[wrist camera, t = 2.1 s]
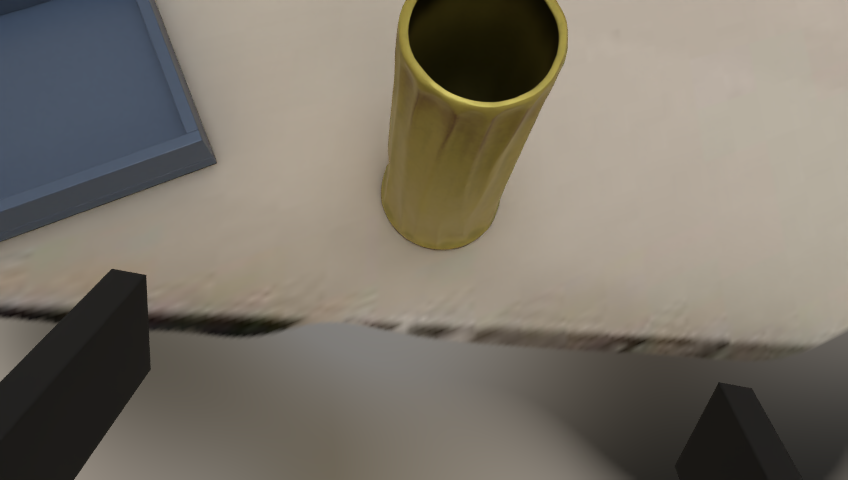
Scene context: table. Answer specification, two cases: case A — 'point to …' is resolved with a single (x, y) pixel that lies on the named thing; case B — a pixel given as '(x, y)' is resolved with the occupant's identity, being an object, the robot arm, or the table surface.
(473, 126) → the vase
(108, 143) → the slate tray
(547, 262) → the table surface
